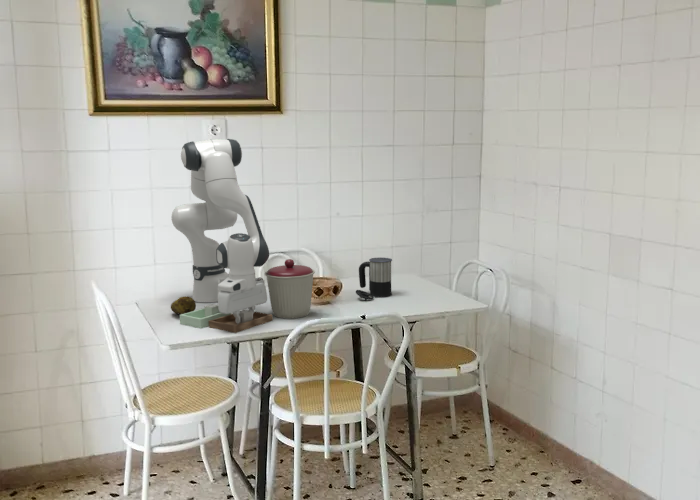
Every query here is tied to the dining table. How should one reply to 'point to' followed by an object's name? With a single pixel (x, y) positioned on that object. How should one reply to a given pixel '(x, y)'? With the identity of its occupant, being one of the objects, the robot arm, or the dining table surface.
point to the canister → (290, 289)
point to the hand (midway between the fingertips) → (244, 320)
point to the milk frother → (376, 278)
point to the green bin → (198, 318)
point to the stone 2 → (245, 316)
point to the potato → (183, 305)
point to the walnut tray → (230, 324)
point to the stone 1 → (211, 310)
